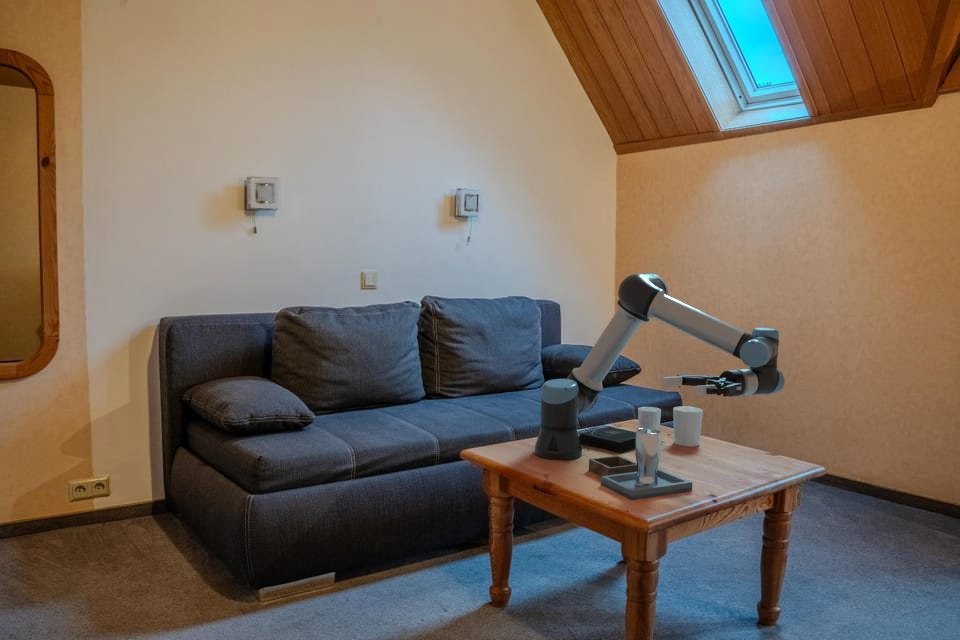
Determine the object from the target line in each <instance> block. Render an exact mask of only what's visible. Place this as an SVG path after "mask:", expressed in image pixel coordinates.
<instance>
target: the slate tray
mask: <svg viewBox="0 0 960 640" xmlns="http://www.w3.org/2000/svg"><path fill="white" fill-rule="evenodd" d="M600 477H601V479H600V480H601V481H600V485H601V487H603V488H606V489H607V490H610V491H611V492H614V493H616V494H618V495H619V496H622V497H624V498H626V499H627V500H630V501H635V500H644V499H649V498H655V497H656V498H657V497H662V496H671V495H675V494H676V495H677V494H682V493H690V492H693V481H690V480H688V479H685V478H683V477H681V476H679V475H676V474H673V473H671V472H668V471H665V470H664V469H662V468H658V469H657V479H658V486H651V487H639V486H637V485H636V478H637V472H630V473H623V474H615V475H608V476H600Z"/></svg>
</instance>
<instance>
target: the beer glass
mask: <svg viewBox="0 0 960 640" xmlns="http://www.w3.org/2000/svg"><path fill="white" fill-rule="evenodd" d="M635 432H636V438H635V449H634V453H635V463H637V478H636V485H637V486H639V487H651V486H658V479H657V469H659V463H660V458H661V454H662V453H661V452H662V432H661V430H660V429H659V430H656V429H650V428H641V429H639V428H637V429H635Z"/></svg>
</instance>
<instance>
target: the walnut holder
mask: <svg viewBox="0 0 960 640" xmlns="http://www.w3.org/2000/svg"><path fill="white" fill-rule="evenodd" d="M588 471H589V472H591V473H592V474H595V475H597V476H599V477H601V476H608V475H615V474H623V473H630V472H637V462H636V461H633V460H630V459H628V458H626V457H624V456H621V455H612V456H606V457H605V456H604V457H594V458H589V459H588Z"/></svg>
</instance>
